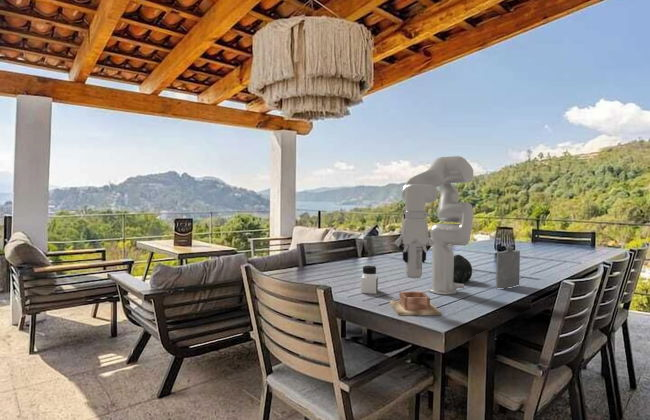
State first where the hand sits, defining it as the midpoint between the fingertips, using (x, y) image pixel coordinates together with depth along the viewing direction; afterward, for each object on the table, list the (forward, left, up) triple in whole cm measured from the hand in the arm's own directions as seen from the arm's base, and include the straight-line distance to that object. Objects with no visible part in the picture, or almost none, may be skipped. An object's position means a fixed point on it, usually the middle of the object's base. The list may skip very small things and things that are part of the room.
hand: (414, 261), depth 148 cm
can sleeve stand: (0, 0, -19) cm, 19 cm away
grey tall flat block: (-55, -35, -19) cm, 68 cm away
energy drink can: (0, 0, -6) cm, 6 cm away
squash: (-35, -49, -19) cm, 63 cm away
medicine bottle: (+14, -27, -19) cm, 36 cm away
